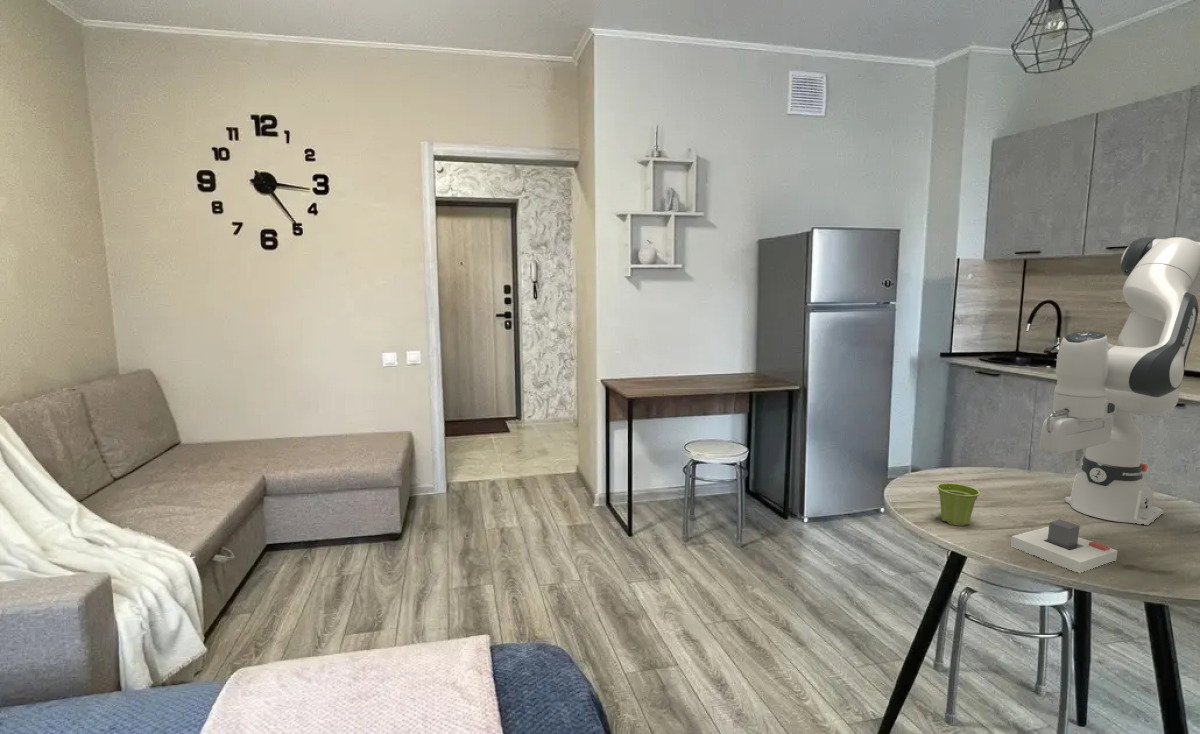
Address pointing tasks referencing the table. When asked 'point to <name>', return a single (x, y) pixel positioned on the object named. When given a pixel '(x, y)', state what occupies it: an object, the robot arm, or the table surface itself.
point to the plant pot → (957, 502)
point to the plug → (1063, 534)
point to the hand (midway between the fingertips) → (1072, 467)
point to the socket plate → (1064, 551)
